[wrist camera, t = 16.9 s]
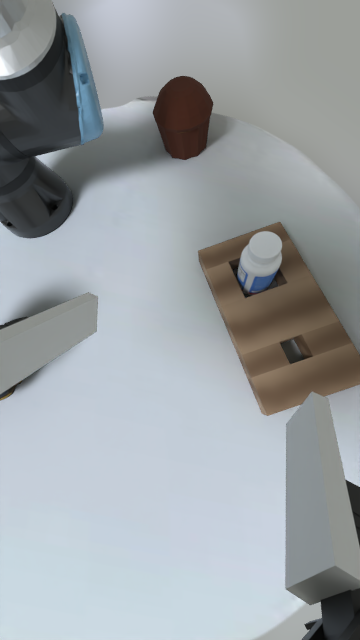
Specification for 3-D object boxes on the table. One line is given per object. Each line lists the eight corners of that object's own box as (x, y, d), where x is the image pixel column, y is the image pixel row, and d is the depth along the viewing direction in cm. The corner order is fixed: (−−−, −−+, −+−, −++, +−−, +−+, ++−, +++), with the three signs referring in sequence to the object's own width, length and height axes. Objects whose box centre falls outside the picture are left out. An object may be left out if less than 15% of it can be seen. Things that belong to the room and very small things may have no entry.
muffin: (219, 155, 47) (221, 95, 37) (167, 171, 47) (157, 115, 37) (203, 118, 50) (201, 55, 41) (155, 133, 51) (143, 74, 41)
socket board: (199, 260, 40) (198, 250, 37) (275, 233, 39) (280, 221, 37) (262, 413, 31) (267, 415, 28) (359, 380, 31) (374, 379, 28)
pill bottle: (275, 274, 37) (296, 235, 28) (261, 301, 36) (279, 270, 27) (243, 261, 39) (255, 220, 29) (229, 287, 37) (236, 253, 28)
